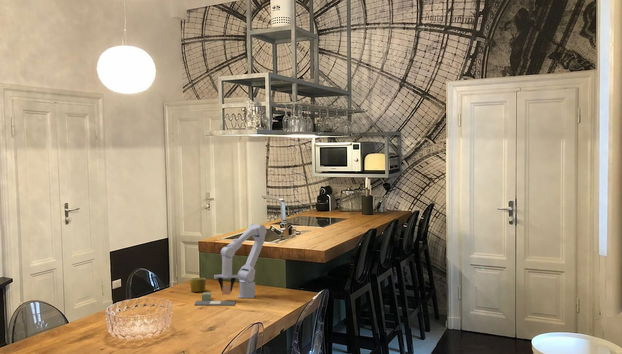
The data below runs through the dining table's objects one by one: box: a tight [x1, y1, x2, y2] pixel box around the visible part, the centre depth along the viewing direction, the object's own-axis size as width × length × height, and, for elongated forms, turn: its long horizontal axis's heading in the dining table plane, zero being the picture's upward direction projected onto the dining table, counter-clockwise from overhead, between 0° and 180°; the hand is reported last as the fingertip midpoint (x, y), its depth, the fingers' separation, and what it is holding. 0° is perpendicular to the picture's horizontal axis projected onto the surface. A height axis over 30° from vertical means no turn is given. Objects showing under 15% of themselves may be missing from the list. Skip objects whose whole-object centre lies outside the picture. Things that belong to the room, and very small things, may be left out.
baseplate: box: [194, 300, 236, 307], centre depth 288 cm, size 22×8×1 cm, turn 94°
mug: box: [190, 277, 207, 293], centre depth 317 cm, size 12×10×10 cm
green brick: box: [201, 291, 212, 301], centre depth 295 cm, size 5×5×4 cm
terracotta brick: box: [221, 285, 232, 296], centre depth 296 cm, size 5×5×4 cm
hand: (226, 291), depth 296 cm, fingers closed on terracotta brick, 5 cm apart
